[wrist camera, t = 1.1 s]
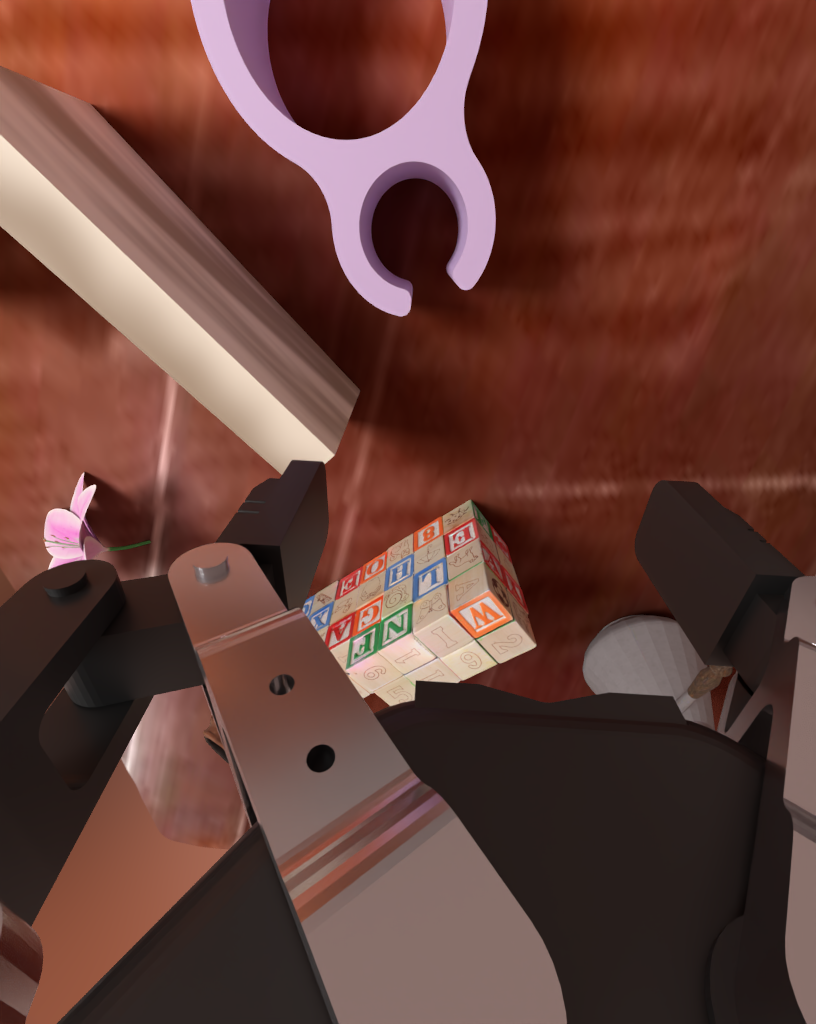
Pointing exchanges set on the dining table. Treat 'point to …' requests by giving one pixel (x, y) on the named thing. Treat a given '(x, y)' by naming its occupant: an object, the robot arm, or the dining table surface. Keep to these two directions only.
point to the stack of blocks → (426, 609)
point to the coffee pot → (653, 665)
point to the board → (162, 276)
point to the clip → (367, 144)
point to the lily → (74, 531)
